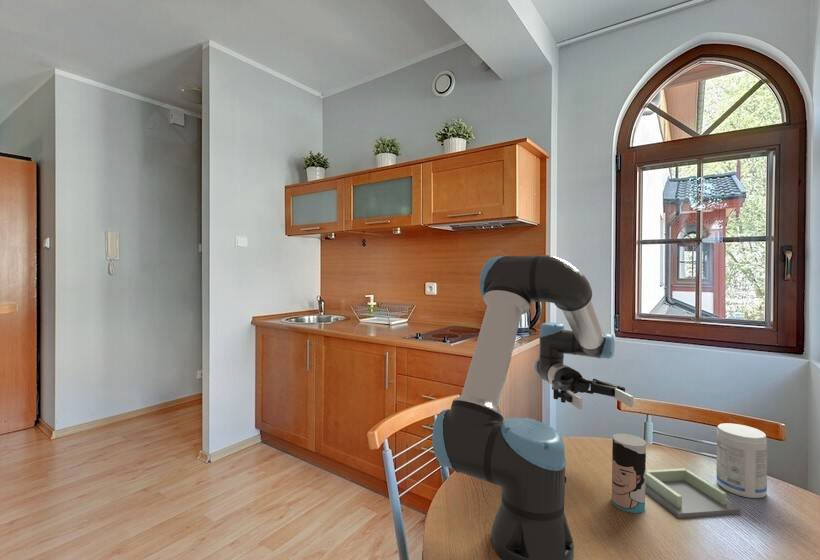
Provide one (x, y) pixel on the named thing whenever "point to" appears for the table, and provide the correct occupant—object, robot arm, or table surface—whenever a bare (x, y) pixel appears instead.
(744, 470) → the supplement tub
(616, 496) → the white printed cylinder
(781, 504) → the table surface
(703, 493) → the holder
